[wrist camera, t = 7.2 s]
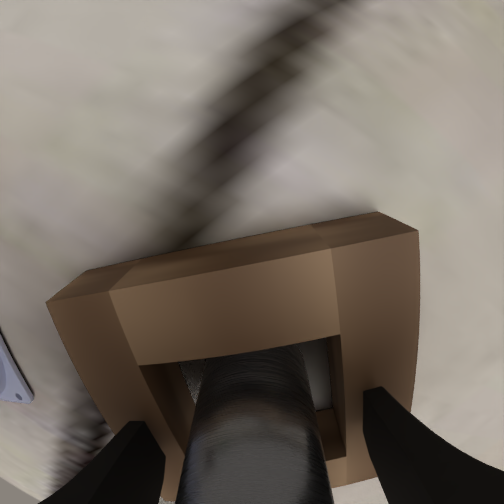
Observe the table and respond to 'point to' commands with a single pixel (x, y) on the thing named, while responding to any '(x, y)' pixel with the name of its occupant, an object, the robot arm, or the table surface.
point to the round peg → (255, 434)
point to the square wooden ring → (251, 326)
